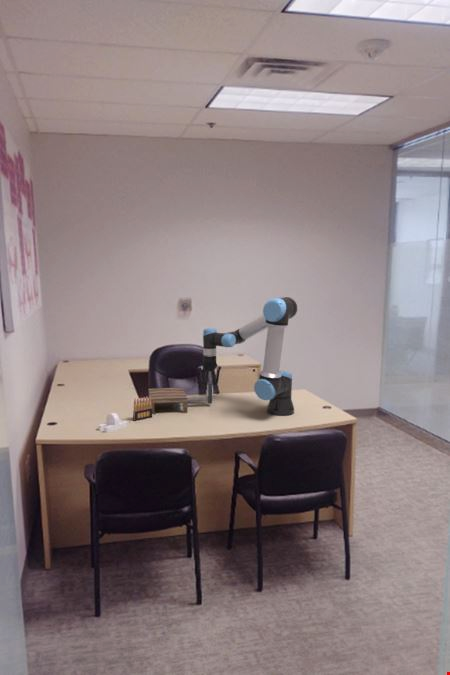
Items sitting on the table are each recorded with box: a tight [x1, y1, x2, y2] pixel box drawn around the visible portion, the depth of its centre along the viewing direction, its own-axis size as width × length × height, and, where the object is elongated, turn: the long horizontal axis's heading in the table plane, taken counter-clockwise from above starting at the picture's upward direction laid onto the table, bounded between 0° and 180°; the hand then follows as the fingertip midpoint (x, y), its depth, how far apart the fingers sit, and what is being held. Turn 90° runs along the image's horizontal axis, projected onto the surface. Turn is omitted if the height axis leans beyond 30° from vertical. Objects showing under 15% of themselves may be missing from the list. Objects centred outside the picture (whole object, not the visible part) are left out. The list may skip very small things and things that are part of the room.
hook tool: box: [187, 381, 213, 407], centre depth 289 cm, size 7×15×12 cm, turn 101°
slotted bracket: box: [98, 412, 128, 434], centre depth 250 cm, size 13×7×8 cm, turn 140°
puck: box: [172, 404, 182, 409], centre depth 288 cm, size 5×5×1 cm
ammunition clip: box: [132, 395, 153, 422], centre depth 265 cm, size 11×2×12 cm, turn 129°
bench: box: [148, 387, 188, 415], centre depth 286 cm, size 24×20×8 cm
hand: (209, 395), depth 291 cm, fingers closed on hook tool, 2 cm apart
